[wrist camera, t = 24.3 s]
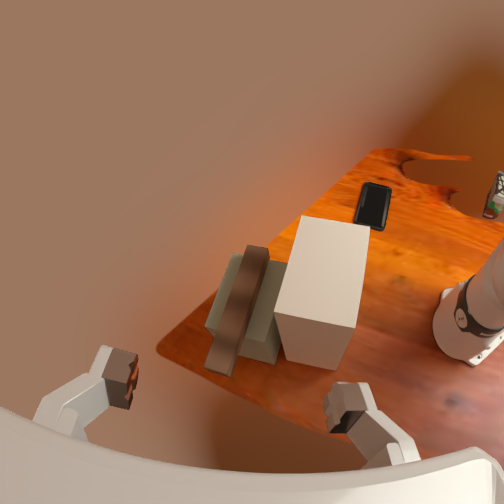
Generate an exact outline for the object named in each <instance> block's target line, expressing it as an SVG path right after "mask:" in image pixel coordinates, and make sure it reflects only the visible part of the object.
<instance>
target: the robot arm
mask: <svg viewBox="0 0 504 504" xmlns="http://www.w3.org/2000/svg"><path fill="white" fill-rule="evenodd" d="M433 333H434V337H435V340H436V342H437V344H438V346H439V347H440V348H441V350H442V351H443V352H444V353H445V354H447V355H448V356H450V357H452V358H454V359H459V360H463V361H465V362H466V363H468V364H469V365H471V366H473V367H475V366H477V365H478V364H479V363H480V362H481V361H483V360H484V359H485V358H486V357H487V356H488V355H489V354H490V353H491V352H492V351H493V350H494V349H495V348H496V347H497V346H498V345H499V344H500V343H501V342H502V341H503V340H504V238H503V239H502V241H501V242H500V243H499V245H498V246H497V248H496V249H495V250H494V252H493V253H492V254H491V256H490V257H489V258H488V260H487V261H486V262H485V264H484V265H483V266H482V267H481V269H480V270H479V271H478V272H477V274H475V275H473V276H472V277H471V278H470V279H468V280H466V281H464V283H461V282H460V283H458V284H457V285H456V286H455V287H454V288H450V289H445V290H444V291H443V292H442V293H441V299H440V305H439V307H438V308H437V310H436V312H435V315H434V318H433ZM477 356H478V357H479V359H478V358H477ZM137 362H138V355H137V354H135V353H131V352H127V351H123V350H120V349H116V348H112V347H109V346H105V345H102V346H101V347H100V348H99V350H98V353H97V355H96V357H95V359H94V362H93V364H92V366H91V368H90V370H89V373H84V374H82V375H80V376H79V377H77V378H75V379H74V380H72V381H70V382H68V383H67V384H65V385H64V386H62V387H60V388H58V389H57V390H55V391H53V392H52V393H50V394H48V395H47V396H45V397H43V399H42V401H41V403H40V405H39V407H38V409H37V412H36V414H35V416H34V418H33V420H32V421H31V420H28V419H26V418H24V417H22V416H20V415H18V414H15V413H13V412H11V411H9V410H7V409H5V408H3V407H1V406H0V504H504V471H503V469H502V467H501V466H500V464H499V463H498V462H497V461H496V460H495V459H494V458H493V457H491V456H490V455H489V454H487V453H486V452H484V451H483V450H481V449H480V448H478V447H469V448H466V449H463V450H459V451H456V452H452V453H448V454H444V455H440V456H436V457H432V458H428V459H423V460H421V459H420V456H419V453H418V450H417V448H416V445H415V442H414V439H412V438H411V437H410V436H409V435H408V434H407V433H406V432H404V431H403V430H402V429H401V428H400V427H399V426H398V425H396V424H395V423H394V422H393V421H392V420H391V419H390V418H389V417H387V416H386V415H385V414H384V413H383V412H382V411H381V410H378V409H377V406H376V404H375V401H374V398H373V395H372V393H371V390H370V387H369V385H368V383H361V382H335V383H334V384H333V385H332V387H331V388H332V391H330V392H329V393H327V395H326V396H325V398H324V403H323V409H324V413H325V414H326V415H327V416H328V419H327V421H326V423H327V428H328V432H329V433H346V435H347V437H348V438H349V439H350V440H351V442H352V443H353V444H354V445H355V446H356V447H357V449H358V450H359V451H360V452H361V453H362V455H363V456H364V457H365V458H366V460H367V461H368V462H367V463H366V464H365V465H364V466H363V467H362V468H361V469H360V470H353V471H342V472H328V473H307V474H306V473H302V474H277V473H275V474H274V473H251V472H237V471H225V470H216V469H207V468H199V467H192V466H185V465H179V464H174V463H168V462H163V461H158V460H153V459H148V458H144V457H139V456H135V455H131V454H127V453H123V452H119V451H116V450H112V449H108V448H105V447H102V446H98V445H95V444H92V443H89V441H88V439H87V436H86V434H85V431H84V427H85V426H86V425H88V424H89V423H90V422H91V421H92V420H94V419H95V418H96V417H97V416H99V415H100V414H101V413H102V412H103V411H105V410H106V409H107V408H108V407H109V405H110V406H115V407H118V408H123V409H127V410H129V409H130V406H131V402H132V399H133V393H132V392H133V390H134V389H135V388H136V385H137V380H138V372H139V371H138V366H137Z"/></svg>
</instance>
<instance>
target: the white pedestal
mask: <svg viewBox="0 0 504 504" xmlns="http://www.w3.org/2000/svg"><path fill="white" fill-rule="evenodd" d="M369 234H370V227H368V226H363V225H357V224H351V223H345V222H339V221H333V220H327V219H321V218H314V217H308V216H301V219H300V223H299V227H298V230H297V234H296V237H295V241H294V244H293V248H292V251H291V255H290V258H289V262H288V265H287V269H286V272H285V275H284V279H283V282H282V285H281V289H280V292H279V295H278V299H277V302H276V305H275V309H274V315H275V319H276V322H277V326H278V330H279V334H280V337H281V341H282V345H283V349H284V352H285V356H286V360H288V361H292V362H296V363H301V364H305V365H310V366H315V367H319V368H324V369H329V370H334V371H336V370H337V368H338V366H339V364H340V362H341V359H342V357H343V355H344V353H345V350H346V348H347V346H348V344H349V341H350V339H351V337H352V334H353V332H354V330H355V326H356V321H357V315H358V310H359V304H360V298H361V292H362V286H363V279H364V273H365V266H366V258H367V251H368V243H369Z"/></svg>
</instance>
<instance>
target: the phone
mask: <svg viewBox="0 0 504 504" xmlns="http://www.w3.org/2000/svg"><path fill="white" fill-rule="evenodd" d="M391 193H392V189H391V188H390V187H387V186H383V185H379V184H375V183H371V182H365V184H364V187H363V190H362V193H361V198H360V202H359V206H358V209H357V213H356V217H355V224H357V225H363V226H368V227H370V229H373V230H377V231H383V230H384V229H385V225H386V220H387V215H388V209H389V204H390V198H391Z"/></svg>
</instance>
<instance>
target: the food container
mask: <svg viewBox="0 0 504 504" xmlns="http://www.w3.org/2000/svg"><path fill="white" fill-rule="evenodd" d="M503 208H504V174H503V173H502V172H501V171H499V172H498V173H497V176H496V179H495V181H494V183H493V185H492V187H491V189H490V191H489V193H488V195H487V200H486V204H485V208H484V212H483V217H485V218H488V219H495V218H496V217H497V216H498V215H499V214H500V212H501V211H502V209H503Z"/></svg>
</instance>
